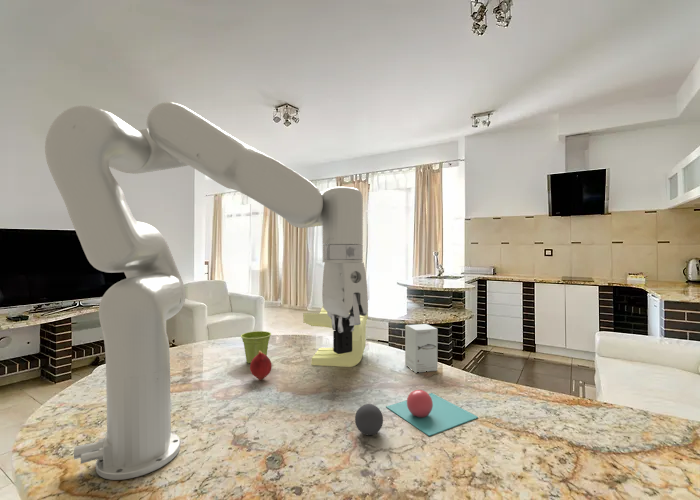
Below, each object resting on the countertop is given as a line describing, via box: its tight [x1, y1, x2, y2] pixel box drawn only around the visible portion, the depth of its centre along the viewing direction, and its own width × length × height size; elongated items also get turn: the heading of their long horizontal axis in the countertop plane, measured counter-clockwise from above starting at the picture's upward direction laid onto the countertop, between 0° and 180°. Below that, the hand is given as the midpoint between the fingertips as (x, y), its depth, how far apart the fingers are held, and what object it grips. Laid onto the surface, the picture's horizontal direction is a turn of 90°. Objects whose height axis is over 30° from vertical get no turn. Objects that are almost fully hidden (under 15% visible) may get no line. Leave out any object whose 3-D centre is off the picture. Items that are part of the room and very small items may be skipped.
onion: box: [249, 351, 273, 381], centre depth 95 cm, size 6×6×8 cm
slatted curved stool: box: [302, 305, 369, 368], centre depth 112 cm, size 30×16×18 cm, turn 172°
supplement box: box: [404, 323, 439, 374], centre depth 103 cm, size 7×7×13 cm
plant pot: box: [240, 330, 272, 364], centre depth 110 cm, size 9×9×9 cm
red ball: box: [406, 389, 433, 418], centre depth 74 cm, size 6×6×6 cm
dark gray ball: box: [354, 403, 384, 436], centre depth 67 cm, size 6×6×6 cm
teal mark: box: [385, 392, 479, 437], centre depth 76 cm, size 14×14×1 cm
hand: (342, 351), depth 65 cm, fingers closed
